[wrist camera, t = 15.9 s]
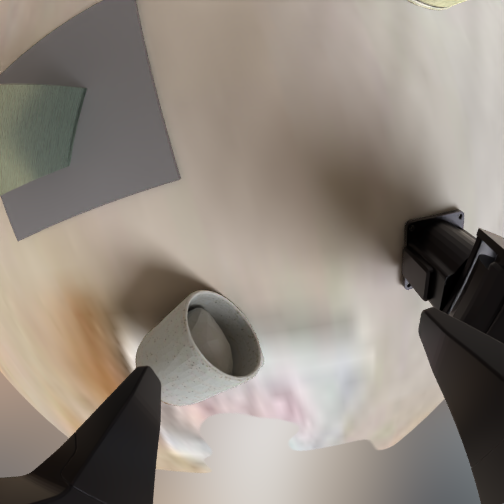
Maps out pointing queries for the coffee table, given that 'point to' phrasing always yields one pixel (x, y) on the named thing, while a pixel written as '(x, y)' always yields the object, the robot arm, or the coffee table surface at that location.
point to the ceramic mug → (201, 349)
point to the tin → (36, 130)
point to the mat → (95, 117)
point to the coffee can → (436, 3)
